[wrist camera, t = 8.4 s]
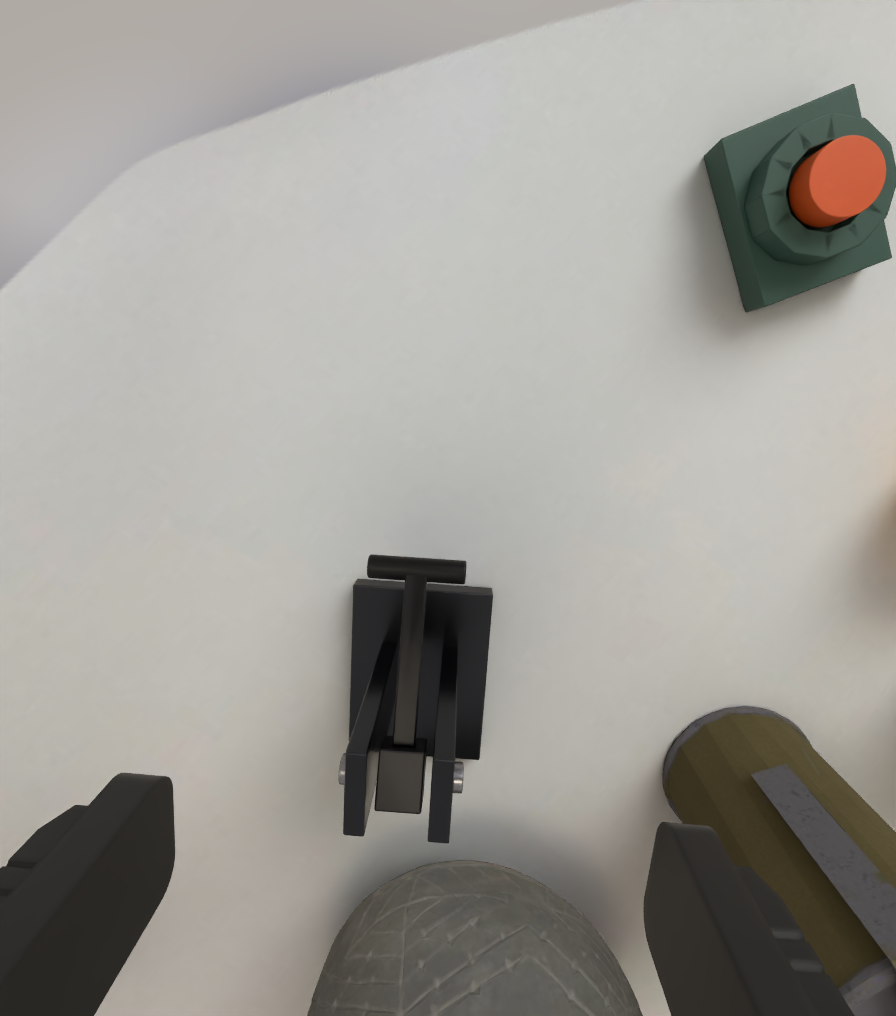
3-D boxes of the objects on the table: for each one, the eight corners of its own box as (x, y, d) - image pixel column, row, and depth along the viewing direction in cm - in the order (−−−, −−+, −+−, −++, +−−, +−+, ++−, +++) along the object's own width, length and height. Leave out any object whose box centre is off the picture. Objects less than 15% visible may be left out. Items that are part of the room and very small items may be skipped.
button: (780, 167, 28) (800, 153, 26) (852, 138, 28) (877, 121, 26) (798, 239, 29) (819, 229, 27) (868, 211, 28) (894, 199, 27)
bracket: (356, 578, 37) (301, 672, 25) (492, 587, 37) (505, 687, 24) (352, 739, 40) (299, 899, 27) (478, 748, 39) (485, 914, 27)
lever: (373, 555, 30) (366, 553, 28) (465, 561, 30) (467, 560, 28) (353, 789, 29) (344, 809, 26) (450, 797, 28) (450, 817, 26)
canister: (828, 812, 40) (1185, 1223, 20) (685, 853, 41) (890, 1282, 21) (791, 680, 38) (1145, 991, 18) (641, 726, 39) (823, 1068, 19)
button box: (703, 156, 31) (737, 122, 27) (827, 104, 31) (880, 62, 27) (745, 312, 33) (782, 301, 29) (864, 266, 32) (919, 249, 28)
